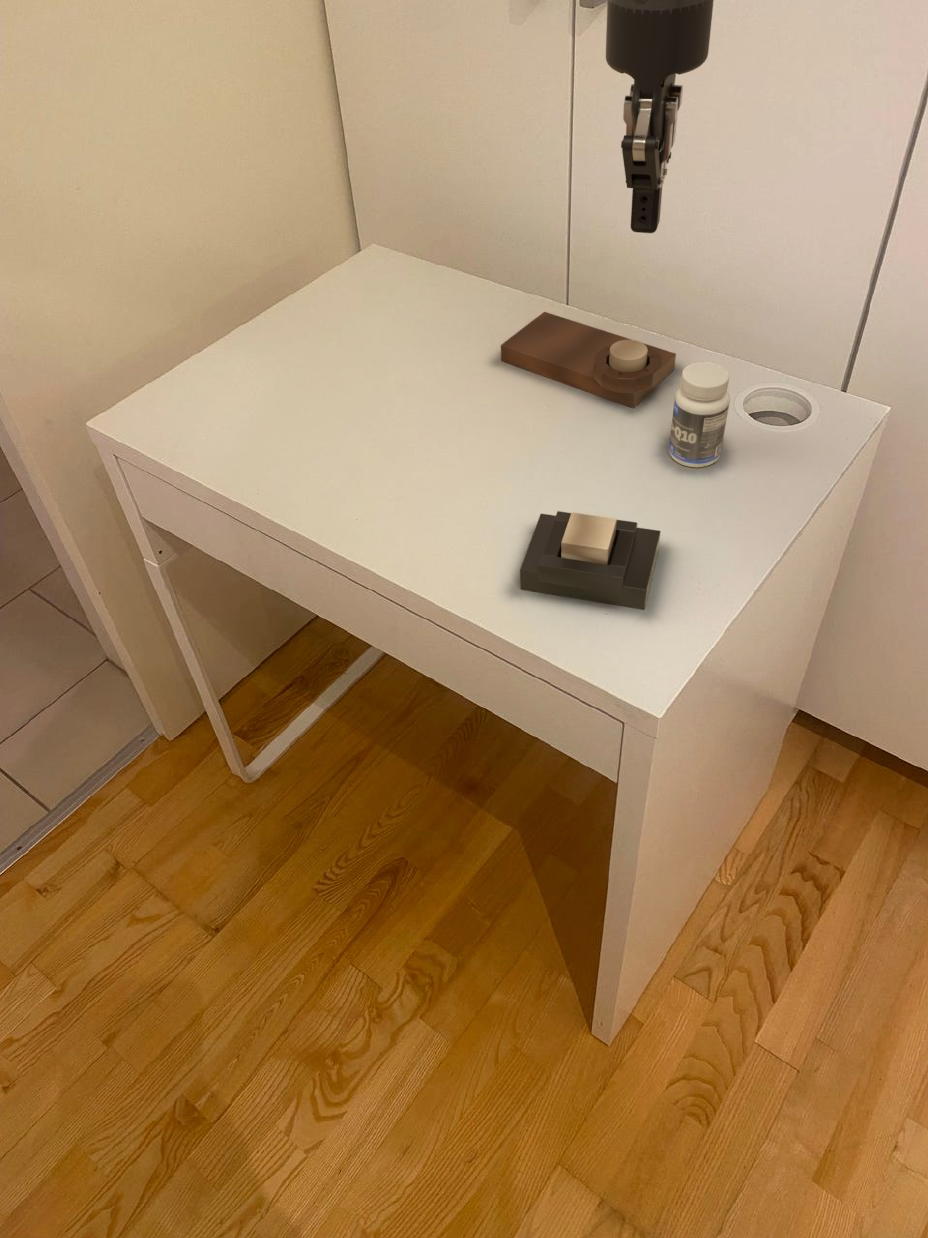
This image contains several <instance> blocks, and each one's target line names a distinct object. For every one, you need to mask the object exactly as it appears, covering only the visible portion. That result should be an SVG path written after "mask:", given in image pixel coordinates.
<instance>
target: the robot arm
mask: <svg viewBox="0 0 928 1238" xmlns="http://www.w3.org/2000/svg"><path fill="white" fill-rule="evenodd" d="M606 1H607V2H606V3H607V4H606V35H605V36H606V37H605V61H606V63H607V65H608V66H609V68H611V70H613V71H615V72H617V73H619V74H626V75H628V76H630V77H631V78H632V79H633V83H631V86H630V90H629V95H625V97H624V101H623V116H622V117H623V118H622V119H623V122H624V123H625V135H623V137H622V138H623V139H622V140H621V143H620V148H621V152H622V153H621V154H622V160H623V167H624V176H625V184H626V189H632V193H631V194H632V195H631V213H630V230H631V231H632V232H634V233H642V234H654V233H656V231H657V229H658V226H659V224H660V222H661V221H660V220H661V209H662V196H663V184H664V183H665V179H666V176H667V175H668V168H667V165H668V164H669V162H670V160H671V159H672V148H673V146H674V145H675V142H676V135H677V125H678V124H677V123H678V113H679V110H680V108H681V106H682V103H683V93H684V85H682V84H676V79H677V78H676V77H677V75H683V74H687V73H690V72H693V71H694V70H697V69H698V68H700V67H701V66H702V65H703V64H704V63H705V62H706V61H707V59H708V56H709V50H710V40H711V31H712V19H713V11H714V10H713V9H714V0H606Z"/></svg>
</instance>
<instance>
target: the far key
mask: <svg viewBox="0 0 928 1238" xmlns="http://www.w3.org/2000/svg"><path fill="white" fill-rule="evenodd" d="M643 343H644V342H642V341H639V340H635V339H632V340H622V341H618V342H616V343H614V344H613V345H612V346H611V347H610V355H609V365H610V367H611V368H612V369H615V370H618V371H621V372H636V371H639V370H642V369H644V368H645V367H646V364H647V352H648V349H647V347H646V345H645V344H646V343H644V344H643Z"/></svg>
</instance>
